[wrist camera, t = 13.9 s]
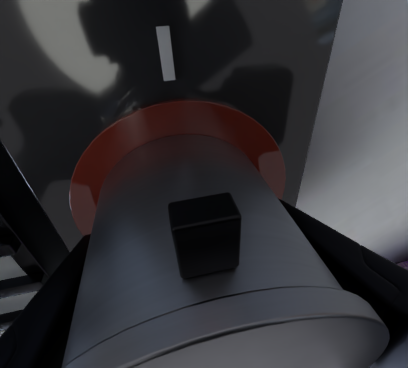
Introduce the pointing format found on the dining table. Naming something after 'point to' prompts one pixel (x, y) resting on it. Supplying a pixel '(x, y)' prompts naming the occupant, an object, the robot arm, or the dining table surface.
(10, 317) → the drying rack
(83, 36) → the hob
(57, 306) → the robot arm
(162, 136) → the hot plate
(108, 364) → the steel pot
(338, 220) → the dining table surface
